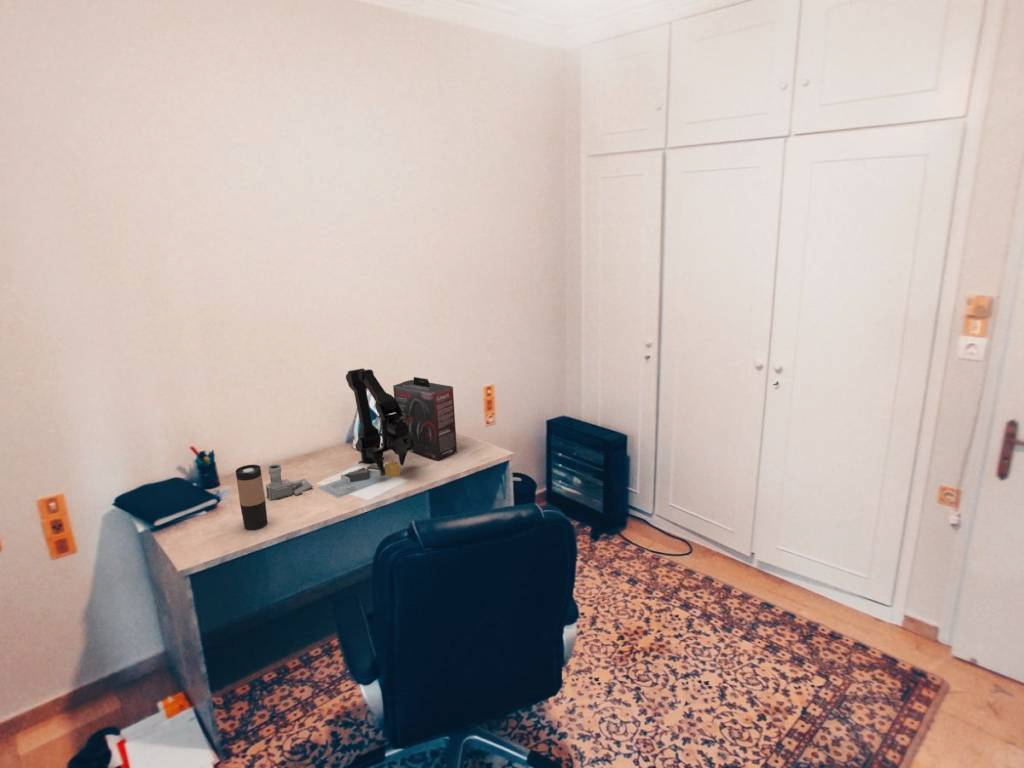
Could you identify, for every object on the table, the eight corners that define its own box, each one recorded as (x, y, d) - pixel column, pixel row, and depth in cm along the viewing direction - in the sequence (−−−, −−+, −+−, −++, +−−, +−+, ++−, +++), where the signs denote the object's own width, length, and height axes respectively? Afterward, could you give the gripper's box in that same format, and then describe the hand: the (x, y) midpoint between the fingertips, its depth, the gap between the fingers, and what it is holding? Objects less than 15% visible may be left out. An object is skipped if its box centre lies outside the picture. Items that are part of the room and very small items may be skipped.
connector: (385, 475, 240) (384, 463, 238) (393, 472, 242) (393, 460, 241) (391, 478, 237) (390, 465, 236) (400, 474, 240) (399, 462, 238)
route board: (317, 489, 230) (316, 480, 229) (382, 467, 250) (381, 458, 249) (337, 500, 221) (336, 490, 220) (403, 476, 241) (402, 467, 240)
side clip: (341, 481, 235) (340, 475, 234) (364, 473, 242) (363, 467, 241) (348, 485, 231) (347, 478, 231) (371, 476, 239) (370, 470, 238)
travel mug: (248, 520, 207) (239, 465, 202) (271, 519, 208) (263, 463, 203) (240, 531, 200) (231, 474, 195) (264, 529, 201) (256, 472, 196)
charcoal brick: (349, 479, 236) (348, 472, 236) (367, 476, 239) (366, 469, 238) (350, 482, 234) (349, 475, 233) (369, 479, 236) (368, 471, 236)
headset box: (396, 450, 269) (391, 376, 260) (417, 442, 278) (412, 370, 270) (438, 462, 254) (433, 384, 246) (458, 452, 264) (454, 378, 256)
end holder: (326, 490, 227) (326, 485, 227) (343, 484, 232) (343, 479, 232) (338, 496, 222) (337, 491, 221) (355, 489, 227) (355, 485, 226)
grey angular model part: (261, 465, 224) (302, 455, 233) (265, 495, 227) (305, 484, 236) (268, 472, 217) (310, 462, 226) (272, 503, 220) (313, 492, 229)
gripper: (380, 442, 223) (384, 481, 227) (421, 429, 236) (424, 467, 240) (363, 435, 231) (367, 474, 235) (404, 423, 244) (406, 460, 248)
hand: (392, 468), depth 239 cm, fingers open, 9 cm apart
